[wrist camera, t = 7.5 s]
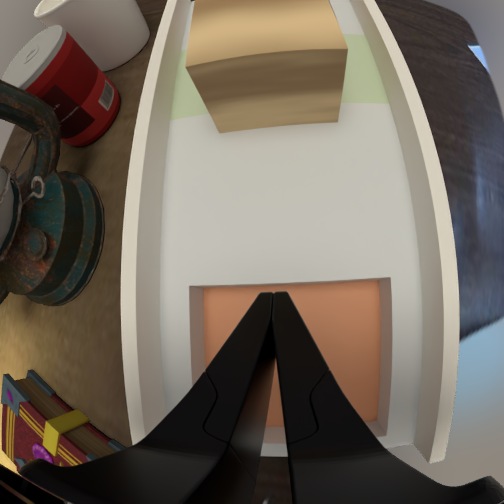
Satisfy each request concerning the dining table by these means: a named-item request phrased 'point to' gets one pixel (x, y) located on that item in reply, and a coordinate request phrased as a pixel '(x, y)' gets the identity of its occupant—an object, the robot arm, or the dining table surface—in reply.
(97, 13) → the candle holder
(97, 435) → the decorative book
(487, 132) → the dining table surface
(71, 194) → the lantern
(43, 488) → the robot arm
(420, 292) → the tray
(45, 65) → the canned food
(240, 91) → the wooden block
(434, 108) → the dining table surface
